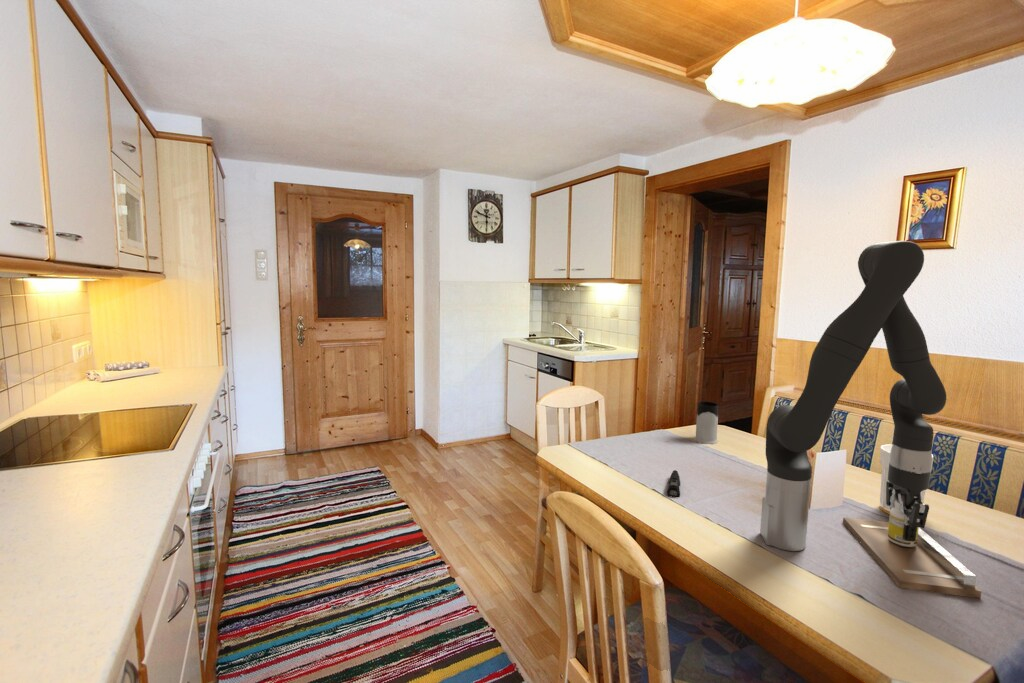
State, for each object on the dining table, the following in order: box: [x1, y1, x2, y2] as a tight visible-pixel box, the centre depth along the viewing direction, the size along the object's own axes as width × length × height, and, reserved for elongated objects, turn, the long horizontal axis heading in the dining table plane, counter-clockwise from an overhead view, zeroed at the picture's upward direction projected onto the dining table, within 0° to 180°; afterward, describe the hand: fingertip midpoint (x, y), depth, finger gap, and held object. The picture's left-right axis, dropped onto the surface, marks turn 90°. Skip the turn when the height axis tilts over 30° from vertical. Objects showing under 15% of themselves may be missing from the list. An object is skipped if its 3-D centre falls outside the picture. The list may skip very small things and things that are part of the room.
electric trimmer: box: [666, 469, 681, 498], centre depth 149 cm, size 4×16×3 cm, turn 159°
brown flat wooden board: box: [842, 517, 982, 599], centre depth 112 cm, size 14×28×2 cm, turn 166°
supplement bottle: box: [888, 499, 918, 547], centre depth 114 cm, size 5×5×10 cm
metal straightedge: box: [917, 527, 978, 588], centre depth 110 cm, size 2×26×2 cm, turn 166°
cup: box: [878, 443, 934, 515], centre depth 133 cm, size 11×11×17 cm
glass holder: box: [694, 401, 719, 445], centre depth 195 cm, size 9×14×15 cm, turn 162°
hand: (902, 533), depth 114 cm, fingers closed on supplement bottle, 5 cm apart
